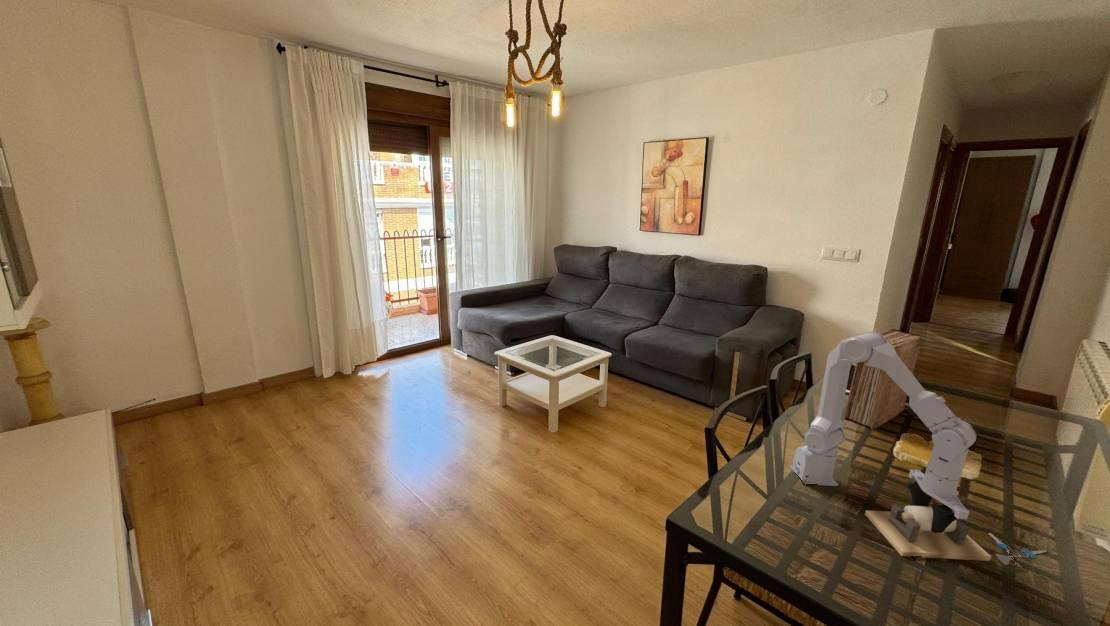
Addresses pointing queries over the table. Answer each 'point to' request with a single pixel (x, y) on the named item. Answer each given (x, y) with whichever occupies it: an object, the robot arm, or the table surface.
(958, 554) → the roll holder
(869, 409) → the brown upright rectangular block
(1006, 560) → the key chain
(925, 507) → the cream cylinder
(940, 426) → the robot arm
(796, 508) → the table surface
